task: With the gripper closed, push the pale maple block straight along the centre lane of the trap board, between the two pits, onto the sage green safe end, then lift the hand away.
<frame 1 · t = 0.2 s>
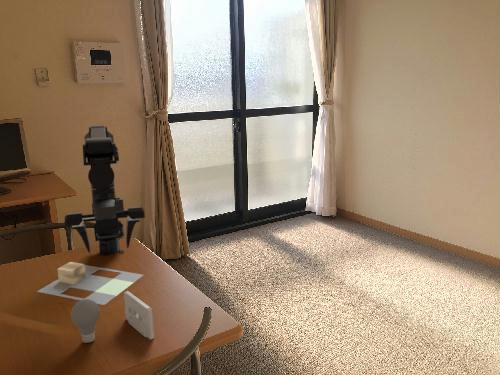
hand: (108, 250, 106), 15 cm above the table, tool pointing down, fingers open, 9 cm apart
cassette: (139, 329, 99), on the table
trap board: (93, 287, 119), on the table
maple block: (72, 279, 121), point 1 cm above the table, touching trap board
light bulb: (88, 341, 94), on the table
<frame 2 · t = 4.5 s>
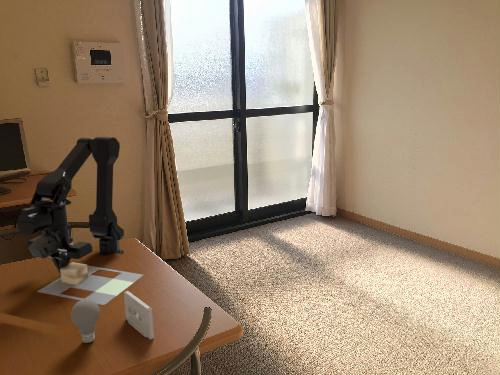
hand: (62, 274, 121), 3 cm above the table, tool pointing down, fingers closed
maple block: (75, 279, 120), point 2 cm above the table, touching gripper, trap board
everything else where it was.
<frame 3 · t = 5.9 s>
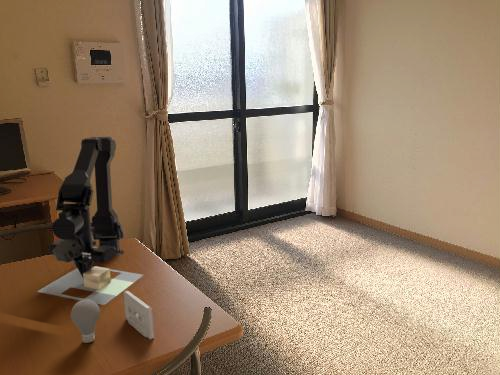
hand: (85, 278, 119), 3 cm above the table, tool pointing down, fingers closed
maple block: (97, 284, 117), point 2 cm above the table, touching gripper, trap board
everything else where it was.
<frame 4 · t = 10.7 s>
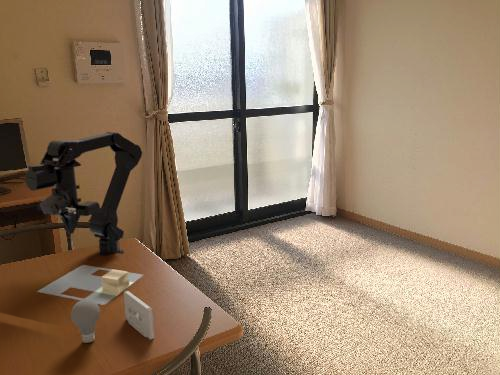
hand: (71, 233, 127), 12 cm above the table, tool pointing down, fingers closed
maple block: (116, 287, 115), point 1 cm above the table, touching trap board
everything else where it was.
at the end: maple block inside the target area (0.6 cm from its centre), point 1.5 cm above the table; maple block tilted 0° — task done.
